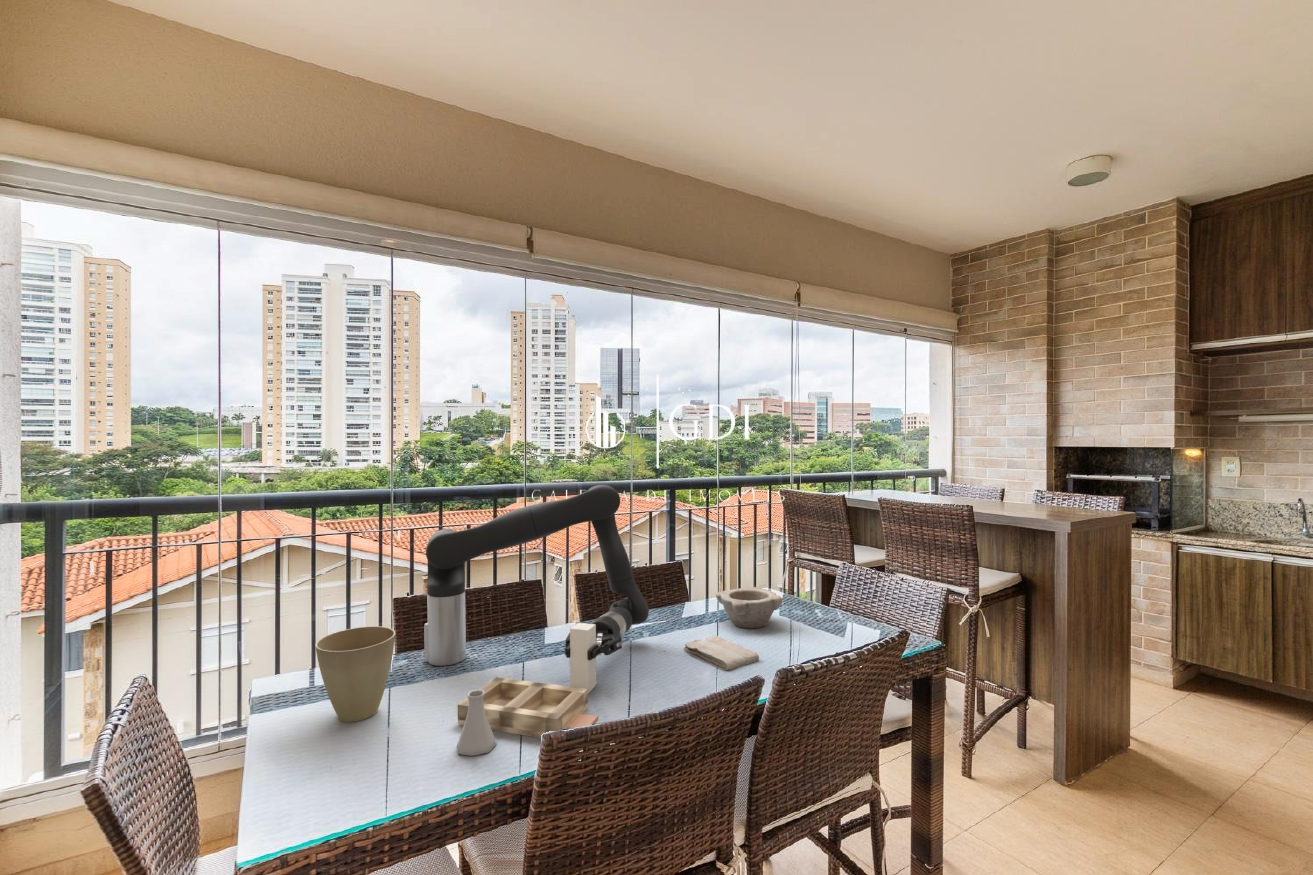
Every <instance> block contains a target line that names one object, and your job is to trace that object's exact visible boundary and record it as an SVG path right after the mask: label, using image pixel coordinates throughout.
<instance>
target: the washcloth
mask: <svg viewBox="0 0 1313 875" xmlns="http://www.w3.org/2000/svg"><path fill="white" fill-rule="evenodd" d="M683 650H684V651H685V652H686V653H687V654H689V655H690V656H692V657H694V658H697V659H699V660H700V661H703V662H705V663H708V664H710V665H712V666H714V667H715V668H718V669H720V670H723V671H730V670H733V669H736V668H738V667H741V666H747V665H749V664H752V663H755V662H757V661H759V660H760V656H759V654H758V653H757V652H755V651H753V650H752V649H749V648H746V647H744V646H743V645H740V644H738V643H735V642H733V641H731V640H728V639H725V638H723V637H721V636H719V635H711V636H709V637H707V638H704V639H694V640H693V641H689V642H686V643H684V647H683Z"/></svg>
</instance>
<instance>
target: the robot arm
mask: <svg viewBox="0 0 1313 875" xmlns="http://www.w3.org/2000/svg"><path fill="white" fill-rule="evenodd" d="M620 496H621V495H620V494H619V492H618V491H617V490H616V488H614V487H612V486H611V485H607V484H597V485H594V486H592V487H589V489H587V490H586V491H584V492H582V493H579V494H576V495H574V496H570V497H568V498H565V499H564V498H563V499H558V500H553V501H552V500H550V501H545V502H539V503H535V504H530V505H527V506H524V507H520V508H517V509H514V510H511V511H508V512H506V513H504V514H501V515H499V516H497V517H495V518H493V519H491V520H489V521H487V522H486V523H483V524H481V525H478V526H474V527H471V528H466V529H463V530H454V529H450V528H444V529H439V530H438V531H436V532H434V533H433V534H432V535H431V536H430V537H429V540H428V541H427V545H426V549H425V557H426V559H427V577H426V578H427V582H426V592H427V593H426V598H427V603H426V604H427V622H426V623H424V625H423V627H424V628H423V629H424V630H423V631H424V632H423V634H424V635H423V636H424V637H423V638H424V641H423V642H424V644H423V646H424V650H423V652H424V662H426V663H428V664H429V665H431V666H432V665H433V666H440V667H441V666H451V665H455V664H458V663H460V662H463V661H464V660H465V659H466V657H467V648H466V647H467V646H466V644H467V642H466V640H467V638H466V636H467V635H466V631H467V630H466V628H467V627H466V562H468V561H470V560H473V559H475V558H478V557H480V556H483V555H486V554H488V553H493V552H497V551H501V550H505V549H510V548H514V547H516V546H519V545H523V544H527V543H530V542H533V541H536V540H540V539H542V538H545V537H548V536H550V535H553V534H556V533H558V532H561V531H562V530H565V529H567V528H569V527H572V526H575V525H579V524H582V523H587V522H591V524H592V527H593V529H594V532H595V535H596V539H597V541H598V544H599V549H600V553H601V557H602V561H603V565H604V569H605V573H606V578H607V581H608V586H609V589H610V591H611V592H612V593H614V594H623V595H625V596H626V597H627V598H624V599H620V600H617V601H614V602H612V604H611V605H610V607H609V609H608V611H606V613H604V614H602V615H601V616H599V617H598V618H596V619H595V620H594V621H593V622H591V623H590V624H596V645H594V646H592V647H591V648H590V649H589V650H588V652H587V659H588V660H592V659H593V658H595V657H596V658H597V657H598V656H602V654H604V656H610V655H612V654H613V653H616V652H618V651H619V650H622V648H623V646H622V645H623V641H622V639H623V638H622V637H623V636H624V635H626V633H627V632H628V631H629V630H630V628H631V627H632V626H633V625H639V624H643V623H645V622H646V621H647V620H648V619H649V613H650V611H649V610H650V609H649V605H648V603H647V601H646V599H645V597H644V596H643V594H642V592H641V591H640V589H639V587H638V584H637V583H636V581H635V577H634V574H633V569H632V566H631V562H630V560H629V555H628V553H627V550H626V548H625V545H624V543H623V541H622V539H621V536H620V533H619V529H618V525H617V521H616V512H617V511H618V510H619V508H620V506H621V497H620ZM564 656H565V658H567V659H570V632H569V633H568V634H567V636H566V639H565V648H564Z"/></svg>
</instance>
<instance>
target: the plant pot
mask: <svg viewBox="0 0 1313 875" xmlns="http://www.w3.org/2000/svg"><path fill="white" fill-rule="evenodd" d="M395 638H396V631H395V630H394V629H393V628H392V627H391V628H390V627H388V626H381V625H380V626H378V625H375V626H374V625H372V626H359V627H352V628H347V629H343V630H339V631H335V632H332V633H328V634H327V635H325V636H323V637H321V638H319V639H318V640H317V641H316V642H315V645H314V646H315V652H316V658H317V661H318V666H319V672H320V675H321V679H322V680H323V681H322V682H323V685H324V687H325V691H326V693H327V696H328V698H329V701H330V703H331V705H332V708H333V710H334V712H335V714H336V716H337V717H338V720H340V721H341V722H345V723H351V722H359V721H363V720H365V719H368V718H370V717H372V716H374V715H375V714H376V713H377V712H378V710H379V707H380V704H381V701H382V699H383V695H384V693H385V689H386V685H387V682H388V679H389V678H388V677H389V674H390V669H391V664H392V659H393V653H394V646H395Z"/></svg>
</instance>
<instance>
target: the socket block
mask: <svg viewBox="0 0 1313 875" xmlns="http://www.w3.org/2000/svg"><path fill="white" fill-rule="evenodd" d="M478 690H484V692H485V696H484V697H483V704H484V709H485V714H486V717H487V720H488V722H489V725H490V728H491V730H492V731H495V732H496V731H497V732H504V733H508V734H515V735H516V734H517V735H522V736H529V737H534V738H541V735H542V734H543V733H546V732H549V731H559V730H563V729H569V728H575V727H582V726H588V725H590V724H593V725H594V724H595V723H596V722H597V721H598V719H599V715H593V714H586V713H584V712H585V711H587V709H588V708H589V706H588V705H589V700H588V697H589V696H588V695H589V693H588V689H584V688H576V687H571V686H566V685H560V684H553V683H544V682H536V681H531V680H530V681H529V680H523V679H521V680H520V679H512V678H504V677H499V676H498V677H497V676H496V677H494V678H493V679H492V680H490V681H489V682H488V683H486V684H484V685H483V686H482V687H480V688H479V689H478ZM468 707H469V699H468V697H466V698H465V699H463V700H462V701H461V702H459V703H458V704H457V725H459V726H464V723H465V720H466V717H467V713H468ZM541 739H542V738H541Z"/></svg>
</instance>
